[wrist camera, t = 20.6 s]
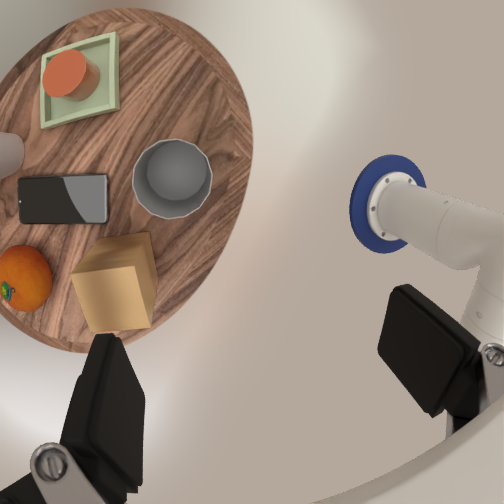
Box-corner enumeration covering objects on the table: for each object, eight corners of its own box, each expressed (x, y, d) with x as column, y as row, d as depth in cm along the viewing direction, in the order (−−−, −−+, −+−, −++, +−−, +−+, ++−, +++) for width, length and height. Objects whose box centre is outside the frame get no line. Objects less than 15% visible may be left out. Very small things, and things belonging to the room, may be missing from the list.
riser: (149, 231, 39) (134, 265, 28) (158, 280, 42) (150, 327, 31) (98, 238, 37) (69, 274, 26) (111, 286, 40) (91, 332, 29)
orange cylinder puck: (100, 55, 27) (87, 42, 21) (100, 96, 29) (85, 89, 24) (61, 67, 26) (43, 58, 20) (60, 107, 28) (41, 103, 23)
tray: (119, 37, 27) (115, 31, 25) (120, 110, 31) (115, 108, 29) (49, 58, 25) (42, 55, 23) (48, 129, 29) (40, 129, 27)
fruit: (54, 238, 35) (31, 258, 28) (63, 297, 39) (46, 324, 32) (6, 237, 33) (-19, 255, 26) (17, 292, 37) (-3, 316, 29)
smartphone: (108, 225, 36) (19, 224, 32) (109, 223, 37) (22, 222, 33) (107, 173, 33) (16, 177, 29) (109, 172, 34) (19, 176, 30)
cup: (138, 189, 36) (122, 204, 27) (158, 132, 34) (147, 128, 25) (195, 208, 39) (196, 228, 30) (216, 152, 37) (225, 155, 27)
